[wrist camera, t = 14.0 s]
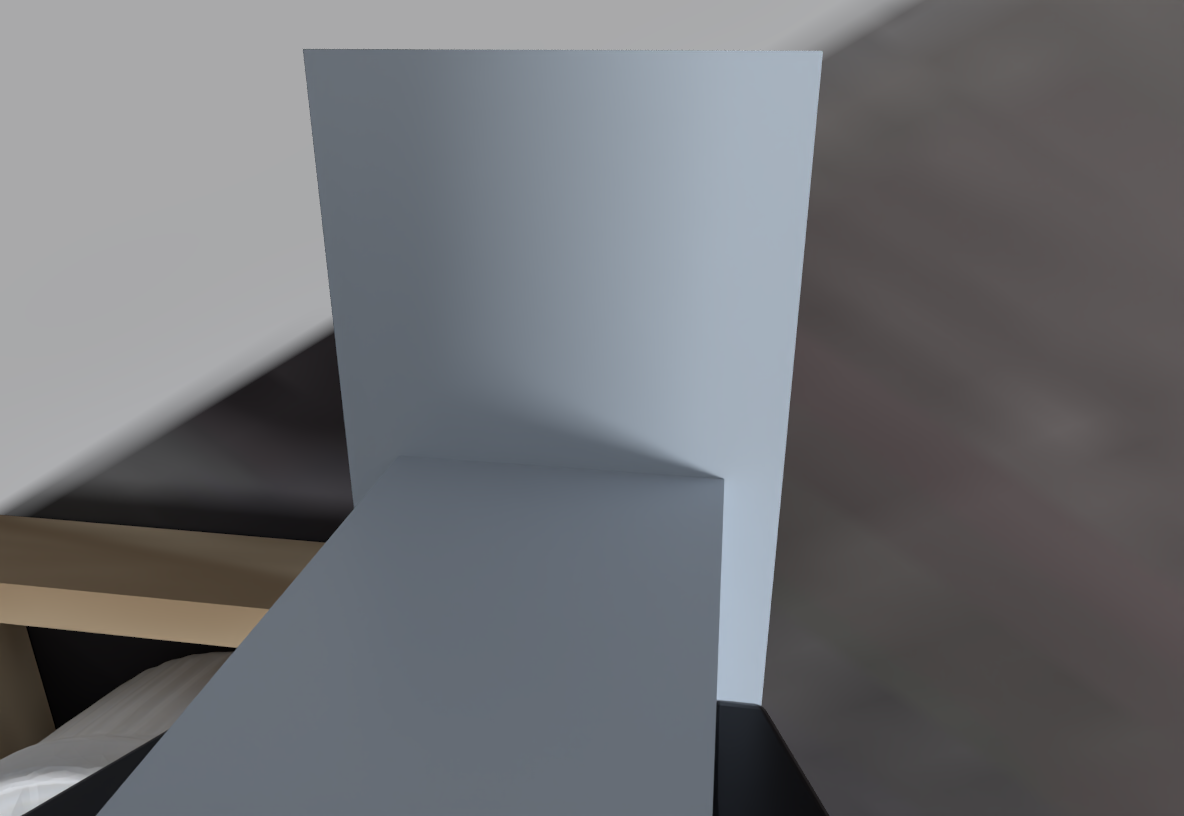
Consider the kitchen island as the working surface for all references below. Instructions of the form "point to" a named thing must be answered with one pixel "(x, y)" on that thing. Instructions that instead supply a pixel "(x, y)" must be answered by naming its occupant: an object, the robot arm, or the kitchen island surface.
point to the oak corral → (125, 595)
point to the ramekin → (104, 731)
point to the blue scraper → (529, 441)
